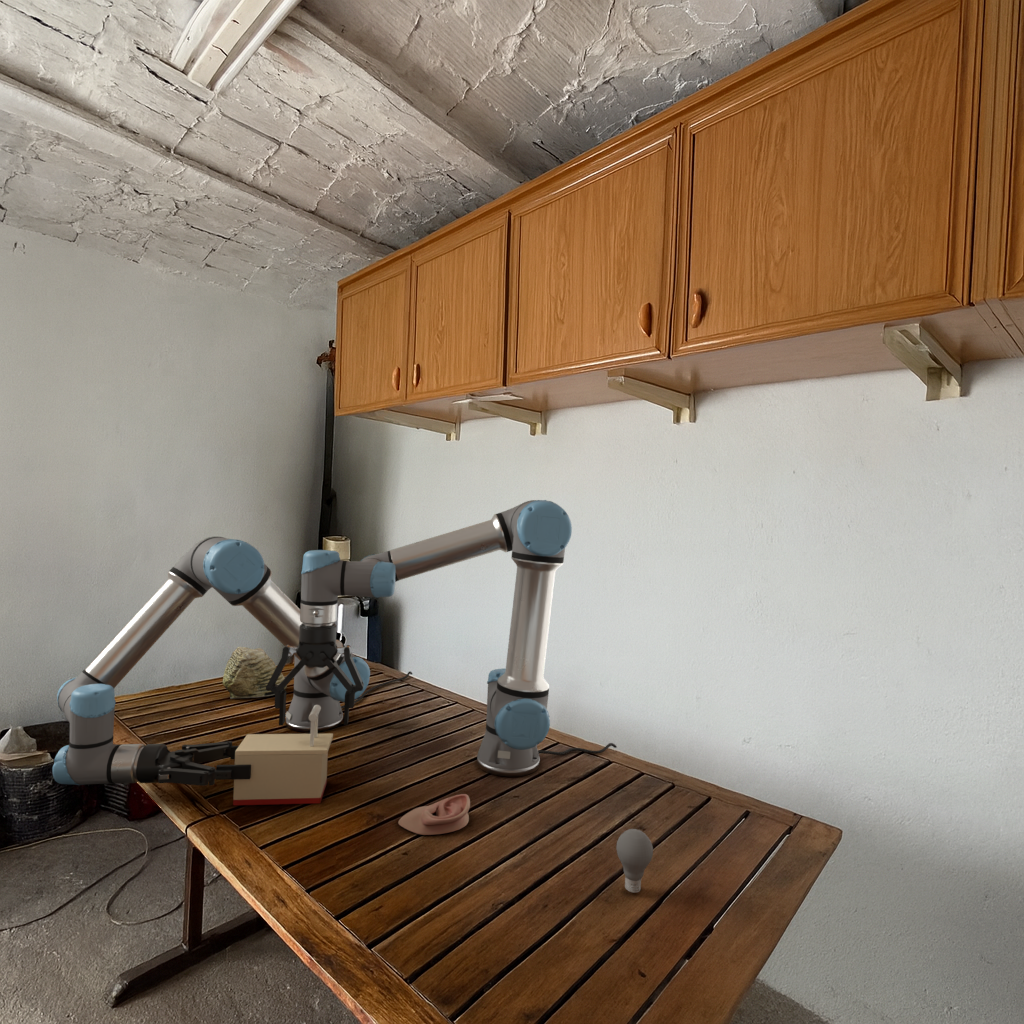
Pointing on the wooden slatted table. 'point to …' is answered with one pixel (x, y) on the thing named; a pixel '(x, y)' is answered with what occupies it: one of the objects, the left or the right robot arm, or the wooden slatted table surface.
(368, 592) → the right robot arm
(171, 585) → the left robot arm
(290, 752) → the lid
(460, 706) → the wooden slatted table surface
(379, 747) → the wooden slatted table surface
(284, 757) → the chest
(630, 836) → the light bulb
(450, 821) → the anatomical model
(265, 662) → the fossil
